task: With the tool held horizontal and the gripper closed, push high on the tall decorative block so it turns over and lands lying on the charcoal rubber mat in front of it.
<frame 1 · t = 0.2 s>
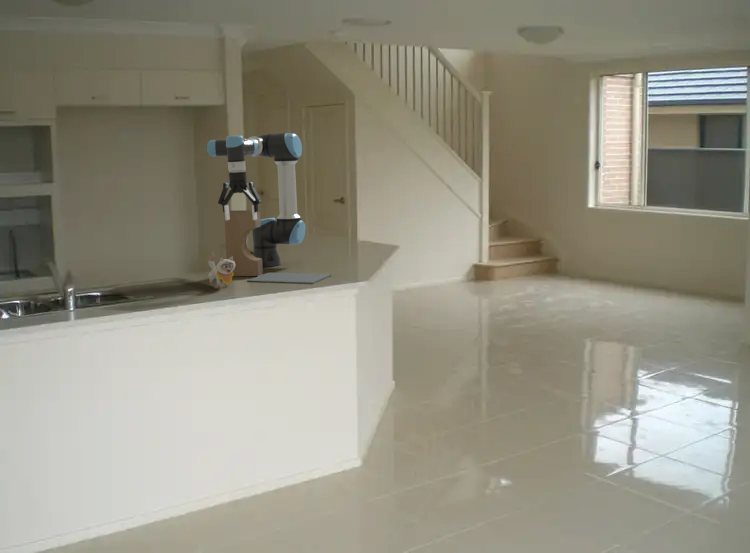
hand: (241, 219, 393), 28 cm above the countertop, tool pointing down, fingers open, 13 cm apart
decorative block: (245, 275, 416), on the countertop
toy: (219, 287, 387), on the countertop
mat: (289, 278, 403), on the countertop
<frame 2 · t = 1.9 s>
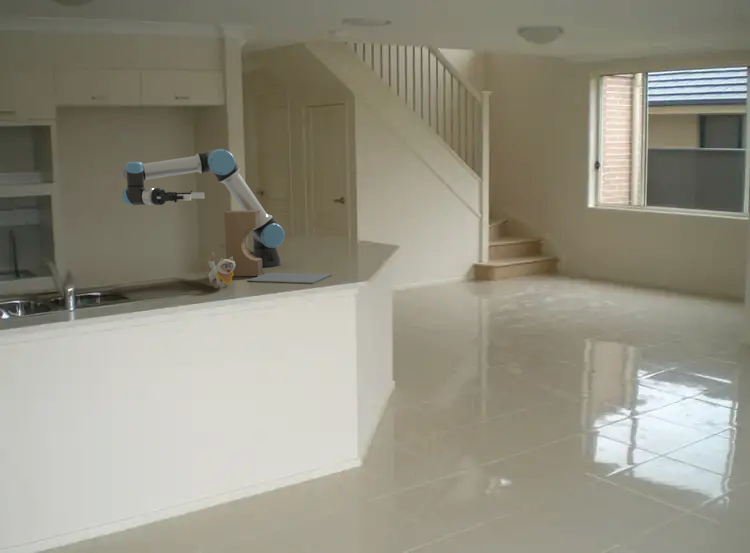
hand: (197, 196, 398), 38 cm above the countertop, tool horizontal, fingers open, 11 cm apart
nothing on the countertop moved.
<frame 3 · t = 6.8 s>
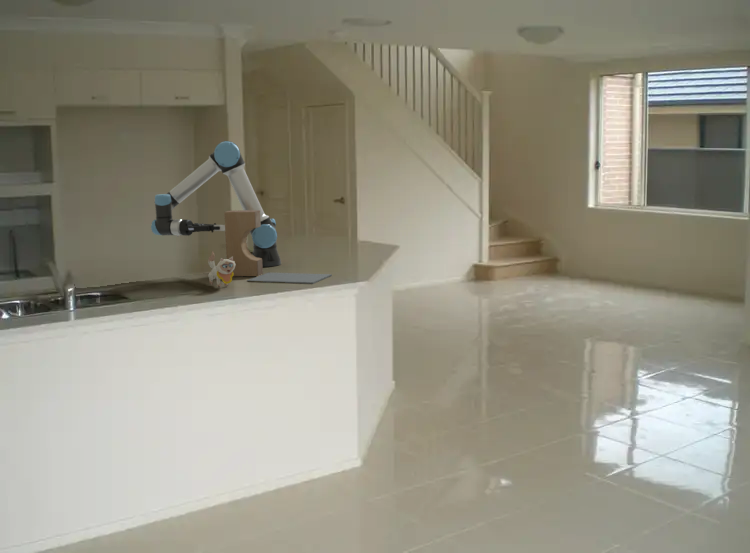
hand: (226, 227, 413), 22 cm above the countertop, tool horizontal, fingers closed
decorative block: (245, 275, 416), on the countertop, touching gripper
everything else where it was.
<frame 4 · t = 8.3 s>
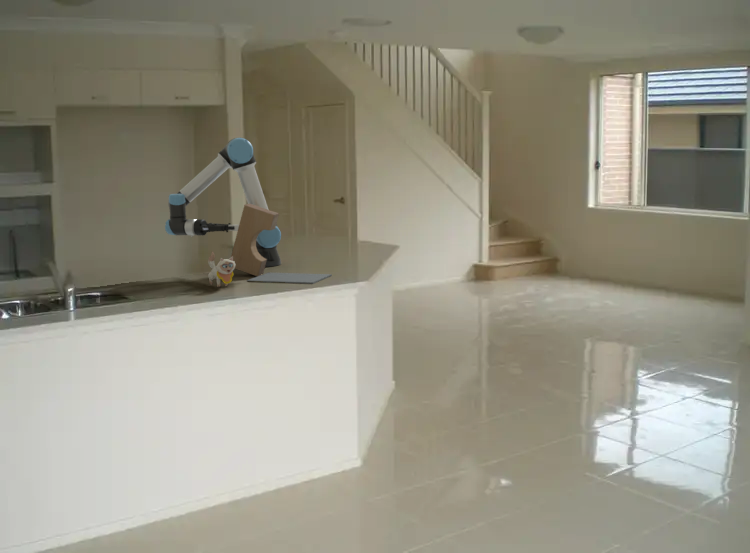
hand: (241, 227, 410), 22 cm above the countertop, tool horizontal, fingers closed
decorative block: (245, 270, 415), point 2 cm above the countertop
everything else where it was.
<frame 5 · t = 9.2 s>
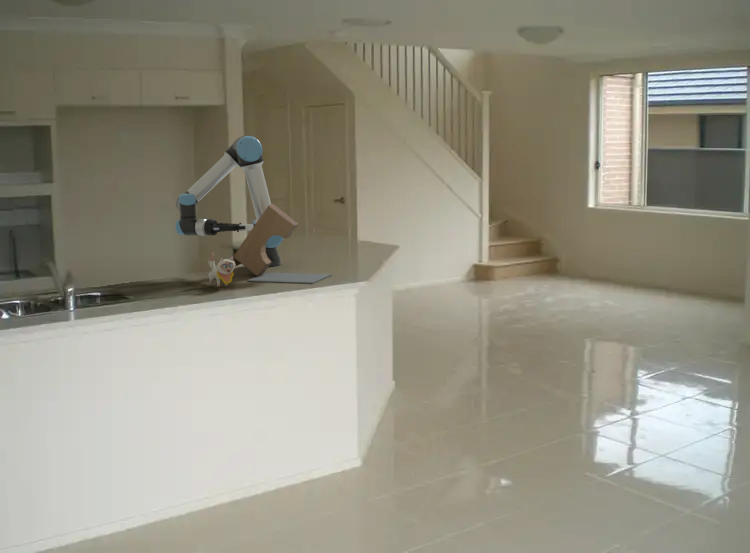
hand: (252, 227, 408), 23 cm above the countertop, tool horizontal, fingers closed
decorative block: (247, 265, 414), point 4 cm above the countertop, touching gripper
everything else where it was.
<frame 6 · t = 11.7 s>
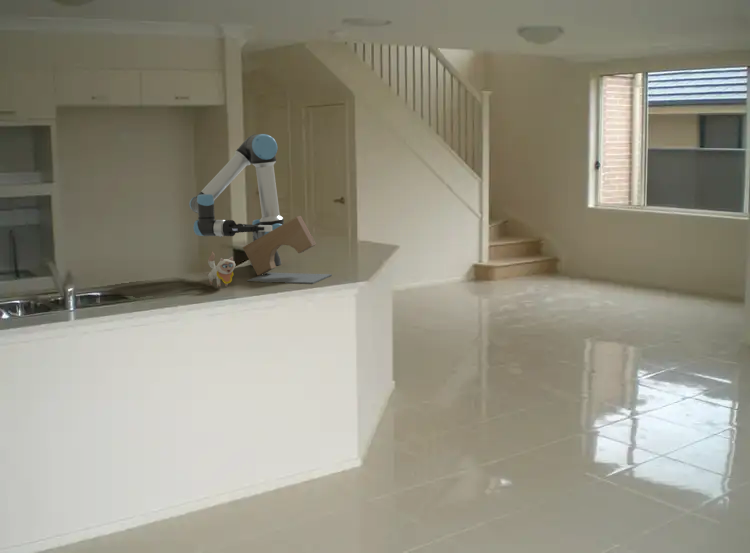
hand: (271, 228, 407), 22 cm above the countertop, tool horizontal, fingers closed
decorative block: (252, 261, 414), point 7 cm above the countertop, touching gripper
everything else where it was.
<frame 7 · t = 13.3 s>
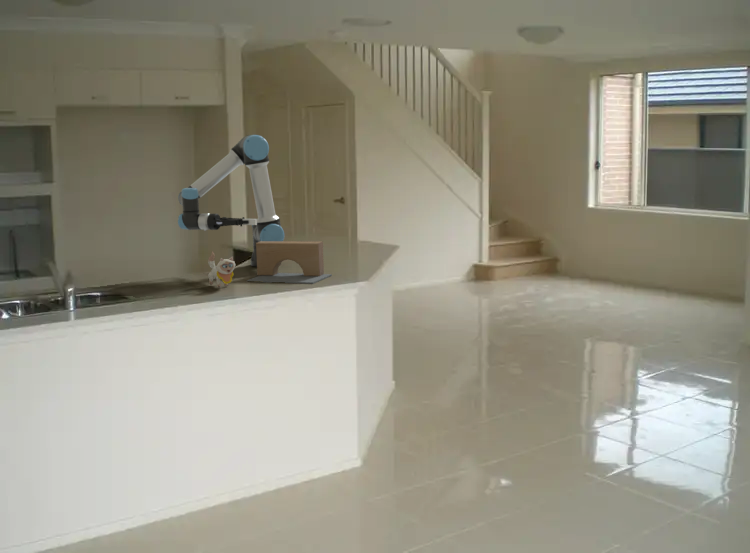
hand: (256, 221, 408), 25 cm above the countertop, tool horizontal, fingers closed
decorative block: (258, 258, 413), point 8 cm above the countertop, touching mat
everything else where it was.
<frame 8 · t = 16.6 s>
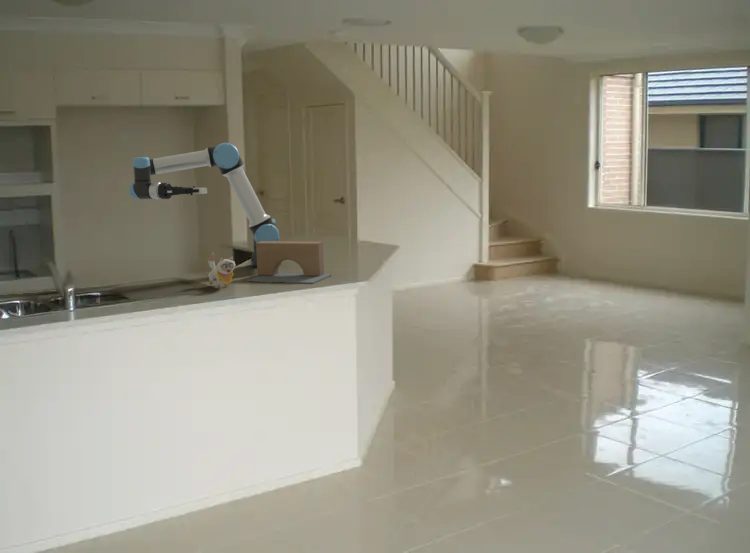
hand: (206, 190, 406), 40 cm above the countertop, tool horizontal, fingers closed
nothing on the countertop moved.
at the end: decorative block tilted 90°; decorative block inside the target area (7.4 cm from its centre), point 8.1 cm above the countertop; decorative block touching mat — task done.
